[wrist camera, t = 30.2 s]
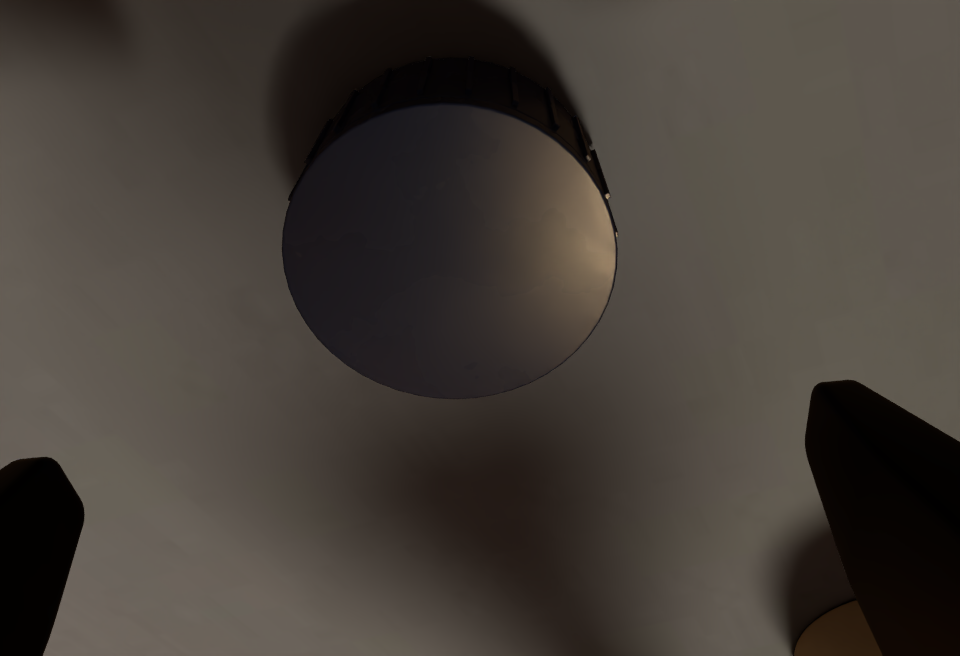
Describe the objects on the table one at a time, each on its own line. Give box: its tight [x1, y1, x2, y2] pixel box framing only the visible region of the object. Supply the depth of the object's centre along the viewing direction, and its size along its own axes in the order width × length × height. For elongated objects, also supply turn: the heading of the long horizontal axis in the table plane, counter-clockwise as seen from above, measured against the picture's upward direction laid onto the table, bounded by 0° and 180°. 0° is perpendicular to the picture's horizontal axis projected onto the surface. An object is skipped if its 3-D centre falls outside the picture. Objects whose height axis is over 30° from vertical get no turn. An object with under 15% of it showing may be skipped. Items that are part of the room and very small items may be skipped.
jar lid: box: [282, 56, 618, 399], centre depth 14 cm, size 6×6×3 cm
